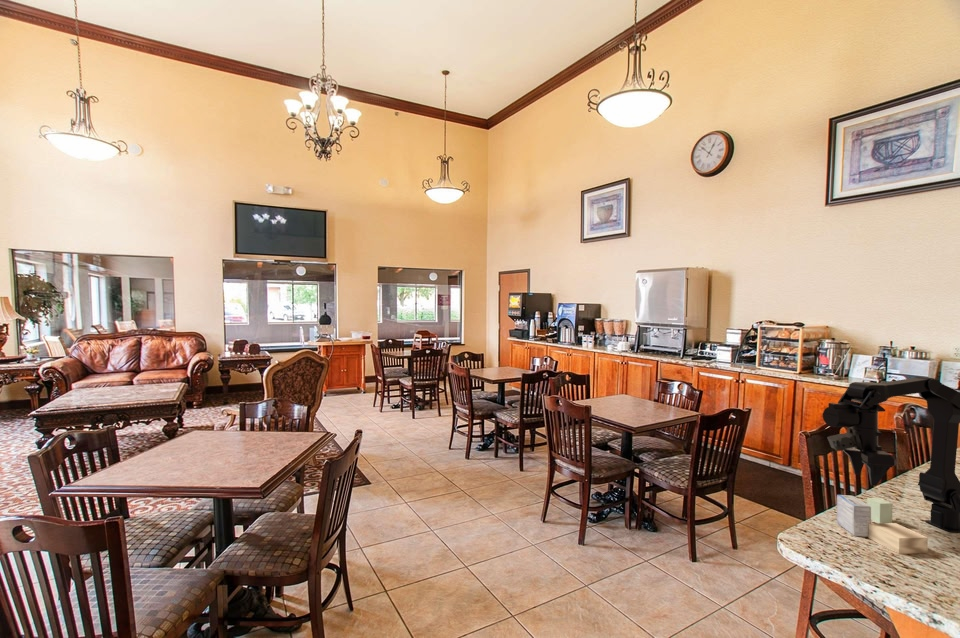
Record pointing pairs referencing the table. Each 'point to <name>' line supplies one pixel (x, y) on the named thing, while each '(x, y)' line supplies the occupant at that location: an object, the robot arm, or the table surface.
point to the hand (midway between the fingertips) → (865, 479)
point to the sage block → (880, 510)
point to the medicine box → (853, 515)
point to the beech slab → (898, 538)
